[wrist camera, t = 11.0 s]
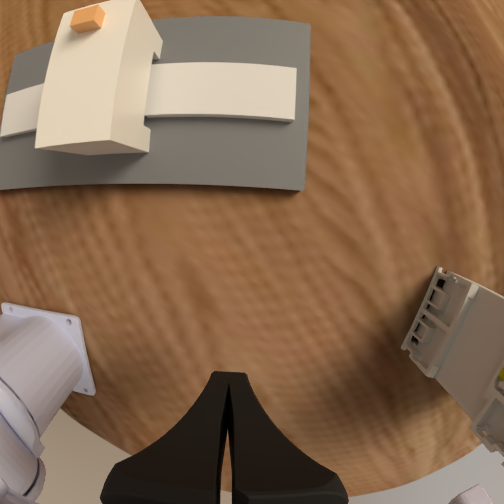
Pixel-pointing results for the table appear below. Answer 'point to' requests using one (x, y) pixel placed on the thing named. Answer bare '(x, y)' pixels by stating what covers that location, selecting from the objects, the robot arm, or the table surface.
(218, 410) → the robot arm
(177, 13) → the table surface
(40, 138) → the block
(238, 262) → the table surface
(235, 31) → the din board
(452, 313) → the circuit breaker
